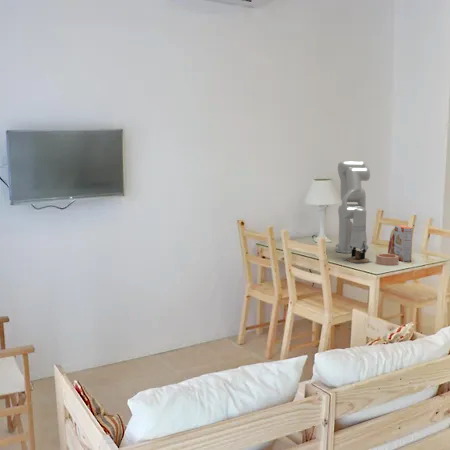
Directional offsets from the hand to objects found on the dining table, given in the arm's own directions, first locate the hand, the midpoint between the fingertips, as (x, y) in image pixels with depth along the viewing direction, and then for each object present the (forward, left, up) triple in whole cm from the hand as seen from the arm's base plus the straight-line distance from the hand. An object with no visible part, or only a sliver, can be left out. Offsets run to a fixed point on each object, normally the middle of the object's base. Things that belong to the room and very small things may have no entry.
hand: (358, 257), depth 329 cm
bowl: (+12, +12, -3) cm, 17 cm away
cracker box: (+6, +30, -3) cm, 30 cm away
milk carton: (-5, +35, -3) cm, 35 cm away
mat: (0, 0, -3) cm, 3 cm away
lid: (0, 0, -2) cm, 2 cm away
